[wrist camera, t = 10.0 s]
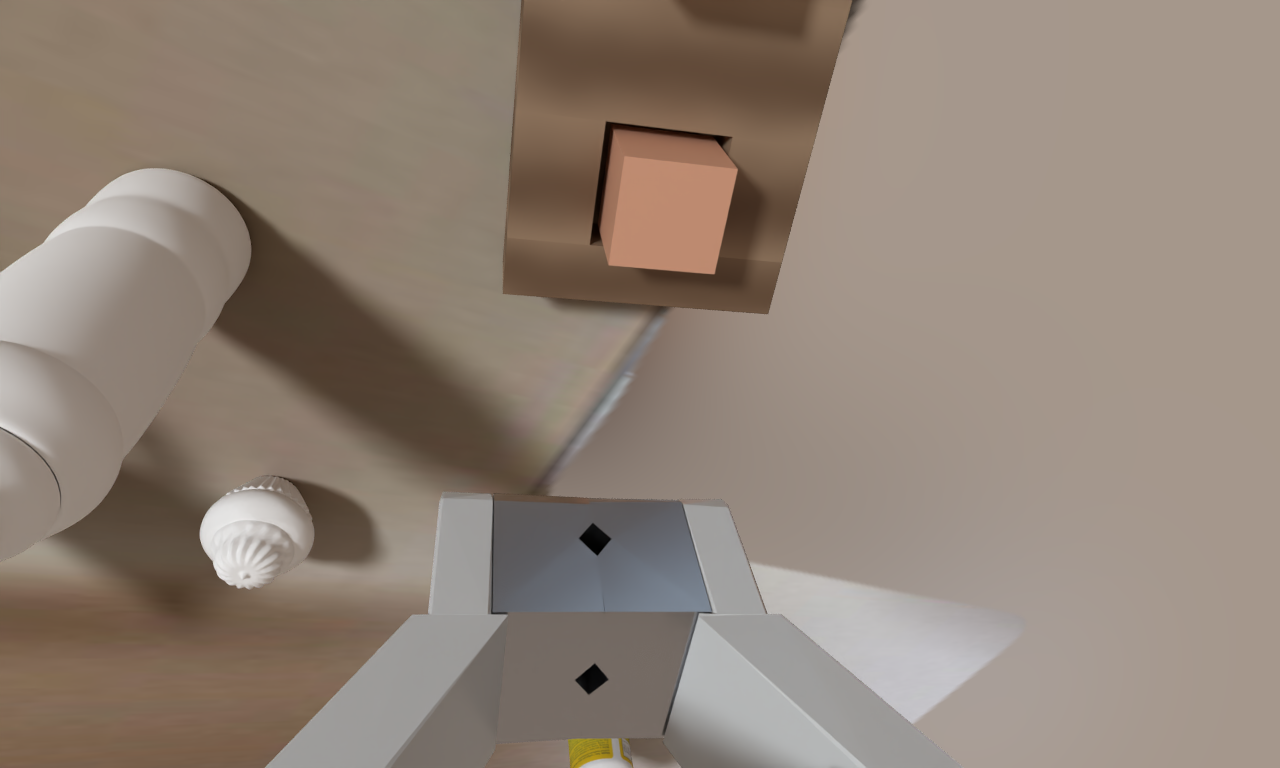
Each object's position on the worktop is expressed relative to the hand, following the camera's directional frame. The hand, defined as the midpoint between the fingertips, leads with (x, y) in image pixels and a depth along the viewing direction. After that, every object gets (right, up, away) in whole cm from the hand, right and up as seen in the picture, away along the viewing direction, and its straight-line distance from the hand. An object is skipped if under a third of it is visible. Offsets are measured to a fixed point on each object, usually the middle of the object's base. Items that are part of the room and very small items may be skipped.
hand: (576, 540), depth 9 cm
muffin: (-22, -5, +41) cm, 47 cm away
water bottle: (-22, +9, +31) cm, 40 cm away
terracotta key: (+1, +12, +31) cm, 33 cm away
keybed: (+2, +18, +30) cm, 35 cm away
